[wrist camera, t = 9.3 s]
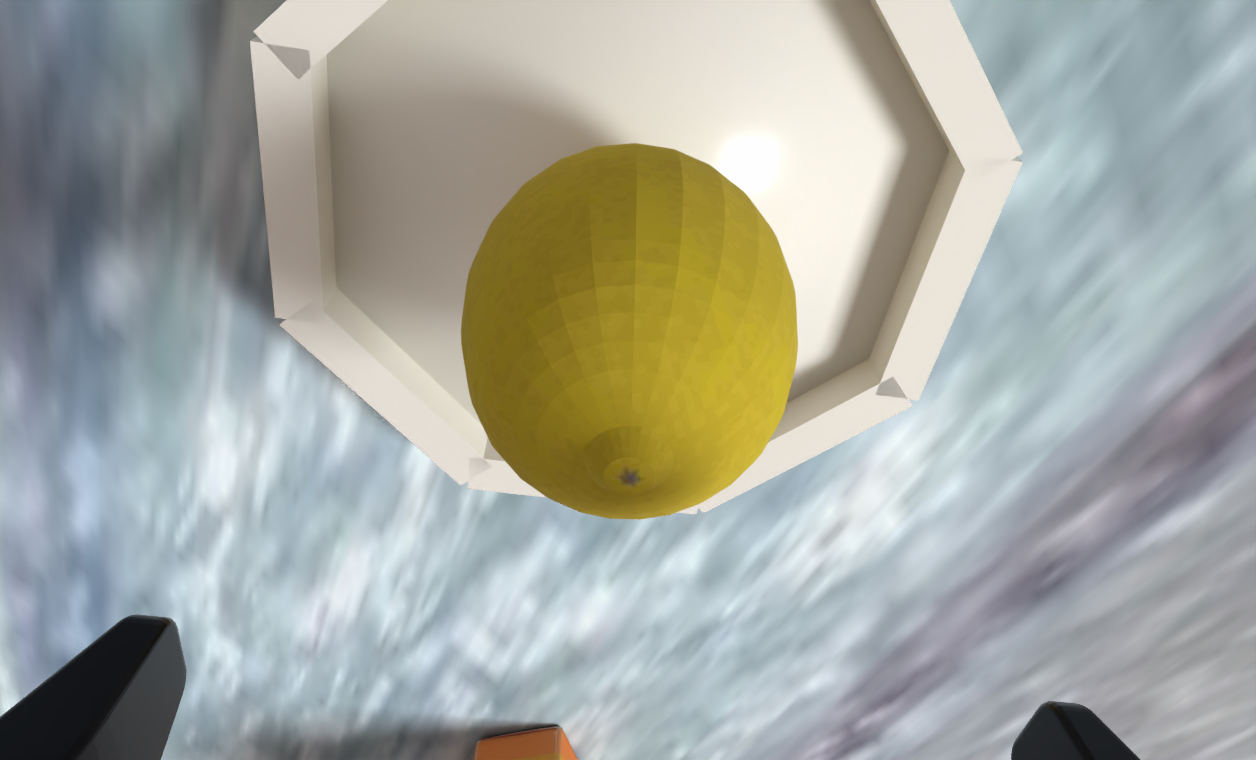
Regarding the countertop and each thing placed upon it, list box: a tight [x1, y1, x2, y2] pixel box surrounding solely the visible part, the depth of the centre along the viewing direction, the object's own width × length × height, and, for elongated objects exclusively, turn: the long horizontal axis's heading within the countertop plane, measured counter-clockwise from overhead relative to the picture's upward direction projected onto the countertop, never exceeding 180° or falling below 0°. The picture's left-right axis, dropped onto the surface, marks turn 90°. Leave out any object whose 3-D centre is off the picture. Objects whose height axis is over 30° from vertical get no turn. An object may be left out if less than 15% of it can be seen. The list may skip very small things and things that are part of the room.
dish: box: [250, 0, 1023, 514], centre depth 18 cm, size 14×14×2 cm
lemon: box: [461, 143, 798, 519], centre depth 15 cm, size 6×6×8 cm
